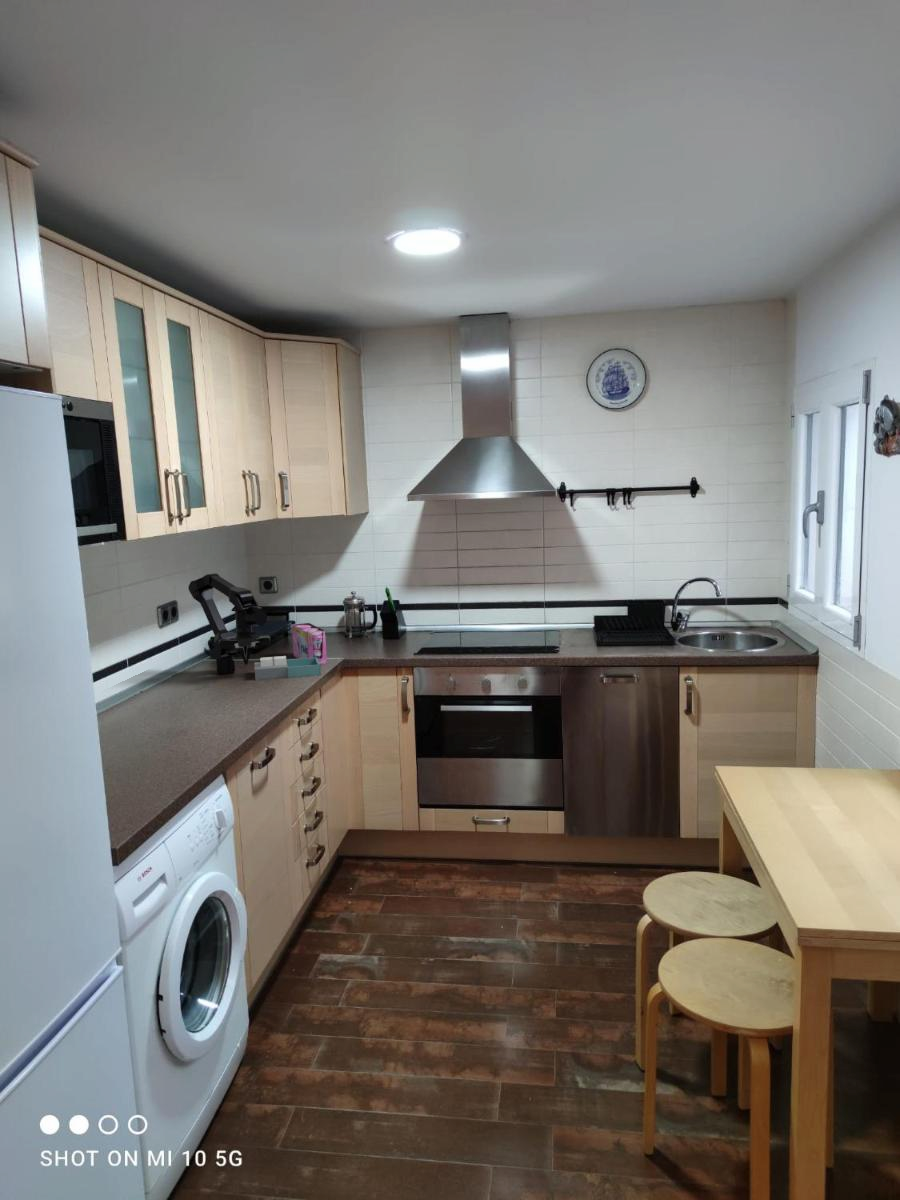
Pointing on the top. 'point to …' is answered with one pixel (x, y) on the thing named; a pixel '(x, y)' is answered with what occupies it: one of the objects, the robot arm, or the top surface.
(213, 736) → the top surface
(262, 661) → the tile
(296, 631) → the gum box
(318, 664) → the tray
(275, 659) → the tile
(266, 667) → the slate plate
